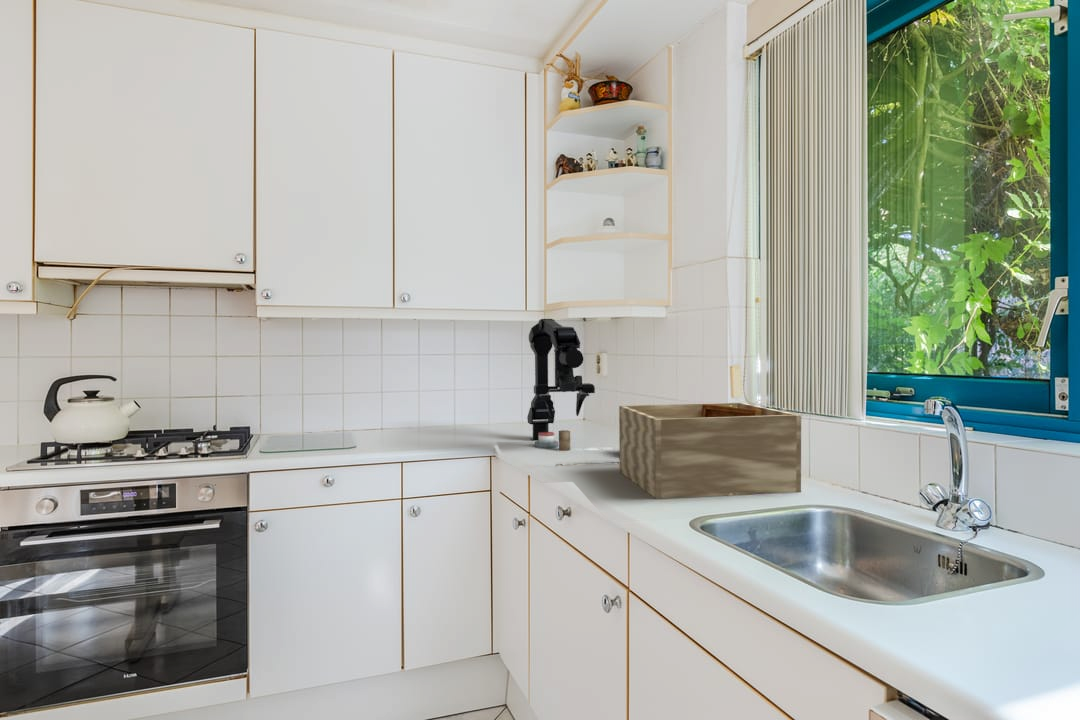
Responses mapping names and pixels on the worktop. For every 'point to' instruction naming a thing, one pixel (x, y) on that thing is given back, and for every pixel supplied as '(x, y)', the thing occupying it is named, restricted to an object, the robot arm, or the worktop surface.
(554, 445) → the board
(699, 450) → the crate
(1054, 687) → the worktop surface
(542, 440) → the dome
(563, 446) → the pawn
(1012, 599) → the worktop surface
